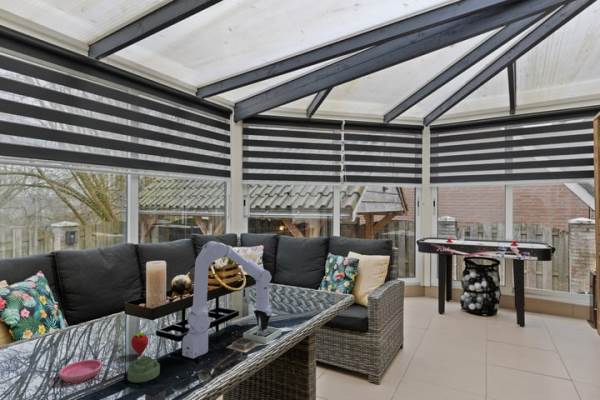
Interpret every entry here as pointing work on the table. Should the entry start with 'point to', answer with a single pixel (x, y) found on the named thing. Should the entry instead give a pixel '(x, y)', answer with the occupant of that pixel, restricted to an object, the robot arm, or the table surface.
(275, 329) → the bin
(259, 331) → the strut
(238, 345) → the socket block
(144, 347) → the strawberry
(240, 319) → the adjustable wrench
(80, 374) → the saucer
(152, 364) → the decorative artifact
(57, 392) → the table surface
